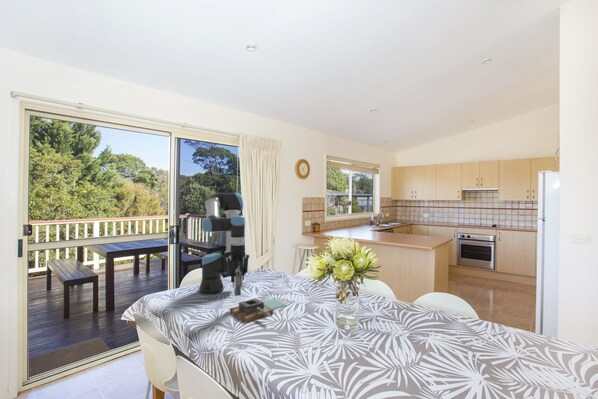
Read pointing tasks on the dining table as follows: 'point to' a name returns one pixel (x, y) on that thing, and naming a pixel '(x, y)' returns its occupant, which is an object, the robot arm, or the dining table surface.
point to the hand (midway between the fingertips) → (237, 287)
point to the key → (238, 283)
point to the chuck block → (251, 310)
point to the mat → (274, 304)
